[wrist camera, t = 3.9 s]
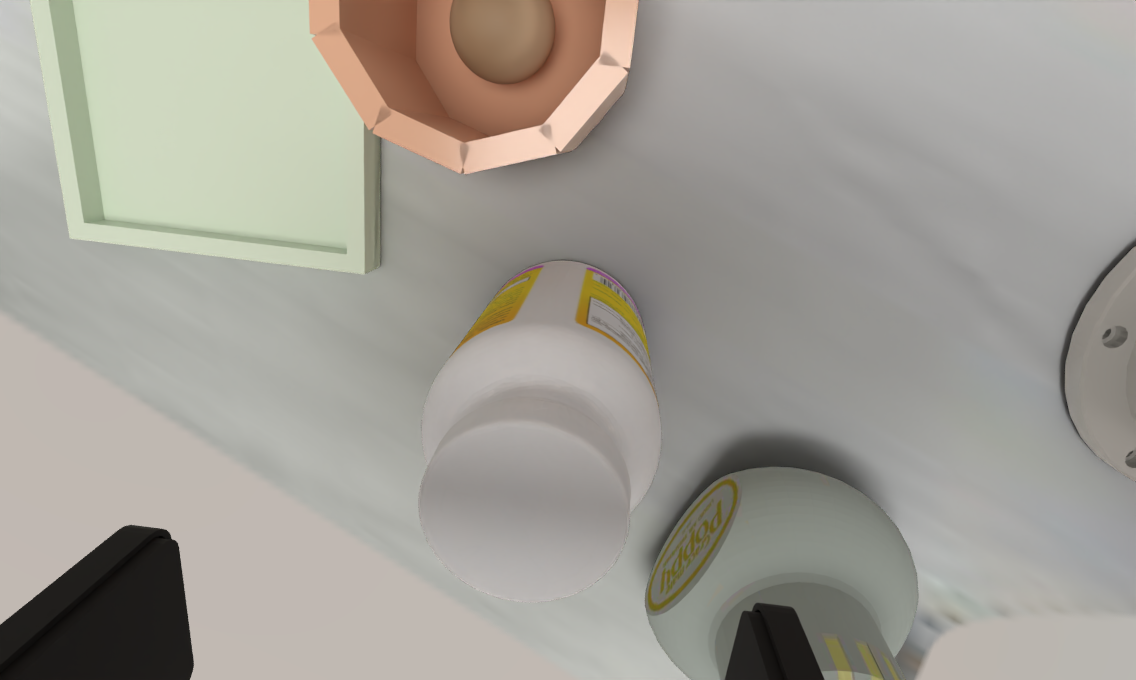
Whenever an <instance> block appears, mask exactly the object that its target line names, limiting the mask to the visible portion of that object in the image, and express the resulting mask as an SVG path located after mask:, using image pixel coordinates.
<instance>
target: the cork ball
mask: <svg viewBox="0 0 1136 680" xmlns="http://www.w3.org/2000/svg"><path fill="white" fill-rule="evenodd" d="M449 22H450V33H451V38H452V42H453V44H454V47H455V50H456V52H457V54H458V55H459V57H460V59H461V60H462V62H463V63H464V64H465V65H466V66H467V67H468V68H469V69H470V70H471V71H472V72H473V73H474V74H476V75H477V76H479V77H480V78H482V79H484V80H486V81H489V82H492V83H497V84H515V83H518V82H521V81H524V80H526V79H528V78H530V77H531V76H533V75H534V74H535V73H536V72H537V71H538V70H539V69H540V68H541V67H542V66H543V65H544V63H545V62H546V60H547V59H548V57H549V55H550V53H551V50H552V47H553V43H554V39H555V17H554V12H553V8H552V5H551V2H550V0H453V2H452V6H451V10H450V19H449Z"/></svg>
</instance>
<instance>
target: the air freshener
mask: <svg viewBox="0 0 1136 680" xmlns="http://www.w3.org/2000/svg"><path fill="white" fill-rule="evenodd" d="M756 603H766V604H774V605H782V606H790V607H792V608H794V609H795V611H796V613H797V615H798V617H799V620H800V622H801V624H802V627H803V629H804V632H805V634H806V636H807V639H808V641H809V644H810V646H811V648H812V651H813V653H814V655H815V658H816V660H817V663H818V665H819V667H820V670H821V672H822V675H823V677H824V679H825V680H906V679H905V677H904V675H903V673H902V671H901V670H900V668H899V666H898V664H897V662H896V660H895V656H896V655H897V653H898V652H899V651H900V649H901V647H902V645H903V644H904V642H905V640H906V638H907V636H908V634H909V632H910V630H911V627H912V624H913V621H914V618H915V614H916V610H917V605H918V581H917V572H916V569H915V566H914V562H913V559H912V556H911V552H910V550H909V548H908V546H907V544H906V542H905V540H904V538H903V536H902V535H901V533H900V531H899V529H898V528H897V526H896V525H895V524H894V523H893V522H892V520H891V519H890V518H889V517H888V516H887V514H886V513H885V512H884V511H883V510H882V509H881V508H880V507H879V506H878V505H877V504H875V503H874V502H873V501H872V500H870V499H869V498H868V497H867V496H866V495H864V494H863V493H862V492H860V491H858V490H857V489H855V488H853V487H851V486H849V485H848V484H846V483H844V482H842V481H840V480H838V479H835V478H832V477H829V476H827V475H824V474H821V473H818V472H814V471H809V470H804V469H799V468H792V467H763V468H752V469H747V470H743V471H739V472H735V473H731V474H728V475H726V476H723V477H721V478H720V479H718V480H716V481H715V482H714V483H712V484H711V485H710V486H709V487H708V488H707V489H705V490H704V491H703V492H702V493H701V494H700V495H699V497H698V498H697V499H696V500H695V501H694V502H693V503H692V504H691V506H690V507H689V508H688V509H687V511H686V512H685V513H684V515H683V516H682V517H681V519H680V520H679V522H678V523H677V524H676V526H675V527H674V529H673V531H672V532H671V534H670V535H669V537H668V539H667V540H666V542H665V544H664V546H663V548H662V550H661V552H660V554H659V555H658V558H657V560H656V562H655V565H654V567H653V569H652V572H651V575H650V577H649V580H648V584H647V588H646V593H645V608H646V612H647V616H648V620H649V623H650V625H651V628H652V630H653V632H654V634H655V636H656V638H657V641H658V642H659V644H660V646H661V647H662V649H663V650H664V651H665V653H666V654H667V655H668V657H669V658H670V660H671V661H672V662H673V663H674V664H675V665H676V666H677V667H678V668H679V669H680V670H681V671H682V672H683V673H684V674H685V675H686V676H687V677H688V678H689V679H691V680H725V676H726V672H727V668H728V664H729V660H730V656H731V652H732V648H733V645H734V641H735V637H736V633H737V629H738V625H739V621H740V617H741V614H742V612H743V611H752V609H753V606H754V605H755V604H756Z"/></svg>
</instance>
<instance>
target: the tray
mask: <svg viewBox="0 0 1136 680" xmlns="http://www.w3.org/2000/svg"><path fill="white" fill-rule="evenodd" d="M30 5H31V11H32V17H33V23H34V29H35V35H36V41H37V47H38V53H39V58H40V64H41V70H42V76H43V82H44V88H45V94H46V100H47V106H48V112H49V118H50V124H51V130H52V135H53V141H54V147H55V153H56V159H57V165H58V171H59V177H60V183H61V189H62V195H63V201H64V207H65V212H66V218H67V224H68V230H69V236H70V238H71V239H79V240H87V241H95V242H103V243H112V244H120V245H128V246H136V247H144V248H153V249H161V250H169V251H177V252H185V253H194V254H202V255H210V256H218V257H226V258H235V259H243V260H251V261H259V262H267V263H275V264H284V265H292V266H300V267H308V268H316V269H325V270H333V271H341V272H349V273H357V274H366V273H368V272H370V271H372V270H374V269H376V268H378V267H380V136H377V135H375V134H373V130H369V129H368V128H367V126H366V125H365V123H364V122H363V120H362V118H361V117H360V115H359V114H358V112H357V110H356V109H355V107H354V106H353V104H352V102H351V101H350V99H349V98H348V96H347V95H346V93H345V91H344V90H343V88H342V87H341V85H340V83H339V82H338V80H337V79H336V77H335V75H334V74H333V72H332V71H331V69H330V68H329V66H328V64H327V63H326V61H325V60H324V58H323V56H322V55H321V53H320V52H319V50H318V48H317V47H316V45H315V44H314V42H313V41H312V38H313V37H314V36H315V35H312V34H310V25H309V0H30Z"/></svg>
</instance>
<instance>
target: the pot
mask: <svg viewBox="0 0 1136 680" xmlns="http://www.w3.org/2000/svg"><path fill="white" fill-rule="evenodd" d="M638 1H639V0H550V2H551V5H552V8H553V12H554V17H555V39H554V43H553V47H552V50H551V53H550V55H549V57H548V59H547V60H546V62H545V63H544V65H543V66H542V67H541V68H540V69H539V70H538V71H537V72H536V73H535V74H534V75H533V76H531V77H530V78H528V79H526V80H524V81H521V82H518V83H515V84H497V83H492V82H489V81H486V80H484V79H482V78H480V77H479V76H477V75H476V74H474V73H473V72H472V71H471V70H470V69H469V68H468V67H467V66H466V65H465V64H464V63H463V62H462V60H461V59H460V57H459V55H458V54H457V52H456V50H455V47H454V44H453V42H452V38H451V33H450V22H449V19H450V10H451V6H452V2H453V0H309V25H310V34H312V35H315V36H314V37H313V38H312V41H313V42H314V44H315V45H316V47H317V48H318V50H319V52H320V53H321V55H322V56H323V58H324V60H325V61H326V63H327V64H328V66H329V68H330V69H331V71H332V72H333V74H334V75H335V77H336V79H337V80H338V82H339V83H340V85H341V87H342V88H343V90H344V91H345V93H346V95H347V96H348V98H349V99H350V101H351V102H352V104H353V106H354V107H355V109H356V110H357V112H358V114H359V115H360V117H361V118H362V120H363V122H364V123H365V125H366V126H367V128H368V129H369V130H373V134H375V135H377V136H380V137H382V138H384V139H386V140H388V141H390V142H392V143H395V144H397V145H399V146H401V147H403V148H405V149H408V150H410V151H412V152H414V153H416V154H418V155H421V156H423V157H425V158H427V159H429V160H431V161H434V162H436V163H438V164H440V165H442V166H444V167H447V168H449V169H451V170H453V171H455V172H457V173H460V174H462V173H465V174H469V173H474V172H479V171H484V170H489V169H493V168H498V167H503V166H508V165H512V164H517V163H521V162H526V161H530V160H535V159H539V158H544V157H548V156H553V155H557V154H562V153H566V152H571V151H572V150H575V149H576V148H577V147H578V146H579V144H580V143H581V142H582V141H583V140H584V139H585V137H586V136H587V135H588V134H589V133H590V132H591V131H592V130H593V129H594V128H595V127H596V126H597V125H598V124H599V122H600V121H601V120H602V118H603V117H604V116H605V115H606V113H607V112H608V111H609V110H610V108H611V107H612V106H613V105H614V104H615V103H616V101H617V100H618V99H619V98H620V97H621V96H622V94H623V93H624V90H625V89H626V85H627V80H628V75H629V70H630V64H631V56H632V48H633V40H634V33H635V25H636V17H637V9H638Z"/></svg>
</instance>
